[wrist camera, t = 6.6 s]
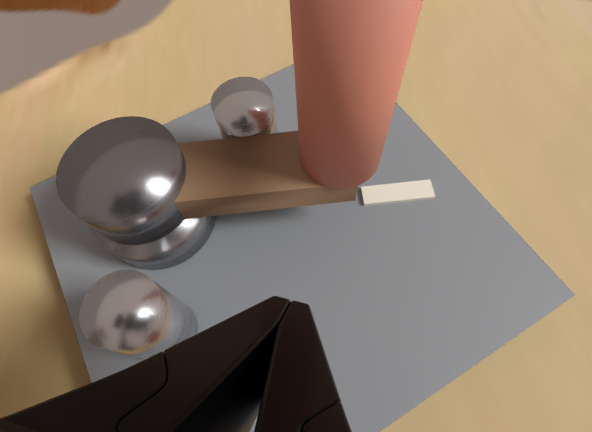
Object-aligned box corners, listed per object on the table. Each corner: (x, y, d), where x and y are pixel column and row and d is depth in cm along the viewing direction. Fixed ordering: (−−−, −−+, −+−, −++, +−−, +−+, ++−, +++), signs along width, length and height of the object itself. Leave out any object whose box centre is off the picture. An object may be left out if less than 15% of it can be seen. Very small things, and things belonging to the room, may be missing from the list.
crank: (81, 251, 15) (-249, 41, 6) (96, 155, 17) (-141, -107, 8) (384, 218, 15) (482, -38, 6) (364, 127, 17) (418, -167, 8)
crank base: (169, 572, 13) (80, 676, 8) (45, 199, 20) (-46, 132, 15) (558, 301, 16) (662, 259, 12) (339, 59, 23) (345, -34, 18)
